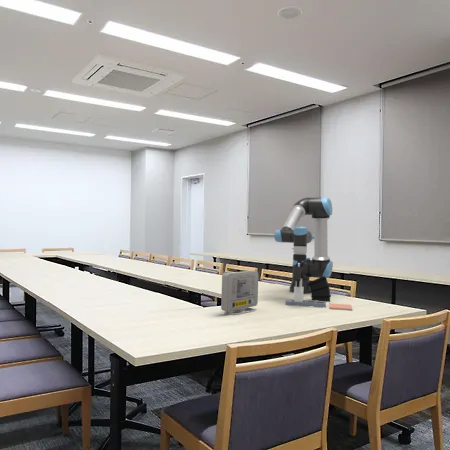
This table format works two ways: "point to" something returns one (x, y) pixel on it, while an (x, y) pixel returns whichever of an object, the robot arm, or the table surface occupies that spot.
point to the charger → (298, 295)
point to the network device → (239, 292)
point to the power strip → (306, 303)
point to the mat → (340, 306)
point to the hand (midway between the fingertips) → (298, 291)
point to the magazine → (320, 289)
